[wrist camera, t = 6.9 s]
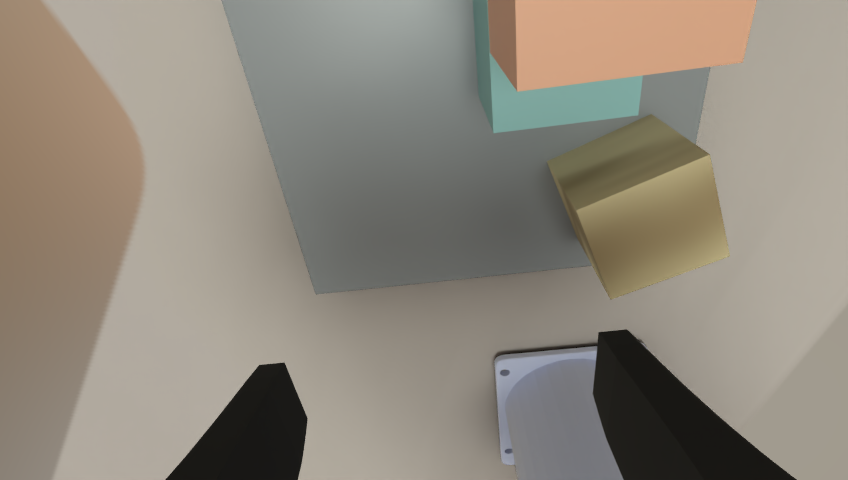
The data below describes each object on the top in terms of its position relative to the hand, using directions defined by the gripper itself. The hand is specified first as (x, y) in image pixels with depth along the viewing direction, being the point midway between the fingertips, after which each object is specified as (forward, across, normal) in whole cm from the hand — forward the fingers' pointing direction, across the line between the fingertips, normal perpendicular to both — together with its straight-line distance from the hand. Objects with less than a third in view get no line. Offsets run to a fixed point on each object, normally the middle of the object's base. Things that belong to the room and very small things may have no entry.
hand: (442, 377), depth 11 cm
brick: (+9, -7, 0) cm, 12 cm away
